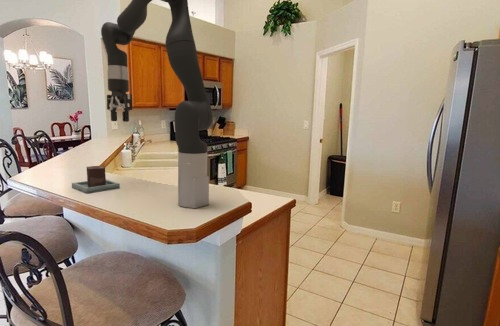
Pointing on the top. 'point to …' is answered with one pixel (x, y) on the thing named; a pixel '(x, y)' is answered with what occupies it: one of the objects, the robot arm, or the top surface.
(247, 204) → the top surface
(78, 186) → the tray
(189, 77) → the robot arm
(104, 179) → the box
